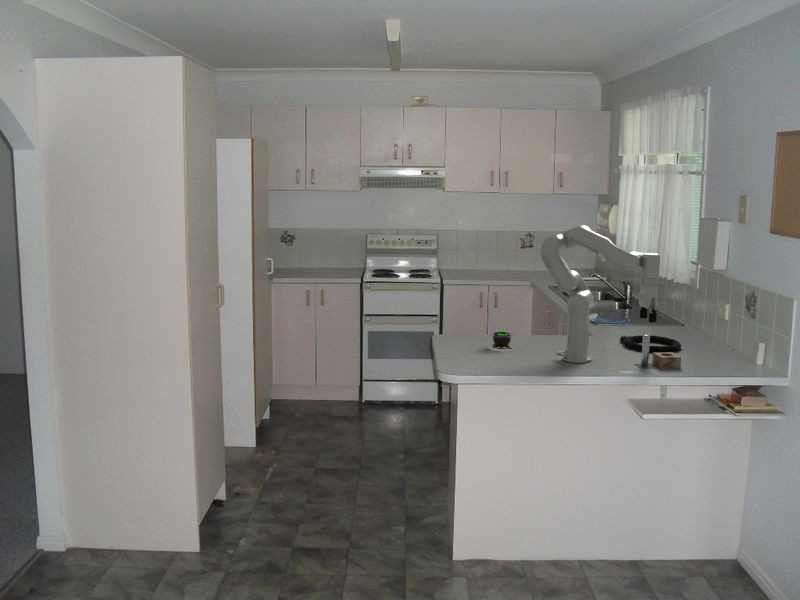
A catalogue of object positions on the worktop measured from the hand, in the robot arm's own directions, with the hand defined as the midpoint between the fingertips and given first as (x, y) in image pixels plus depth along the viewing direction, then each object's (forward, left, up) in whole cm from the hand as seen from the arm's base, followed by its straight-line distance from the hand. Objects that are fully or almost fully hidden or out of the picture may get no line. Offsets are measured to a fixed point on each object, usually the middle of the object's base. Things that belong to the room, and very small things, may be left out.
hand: (647, 320), depth 345 cm
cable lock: (+19, +40, -22) cm, 49 cm away
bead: (+10, 0, -21) cm, 23 cm away
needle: (0, 0, -21) cm, 21 cm away
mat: (+6, 0, -21) cm, 22 cm away
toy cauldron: (-56, +41, -22) cm, 72 cm away
